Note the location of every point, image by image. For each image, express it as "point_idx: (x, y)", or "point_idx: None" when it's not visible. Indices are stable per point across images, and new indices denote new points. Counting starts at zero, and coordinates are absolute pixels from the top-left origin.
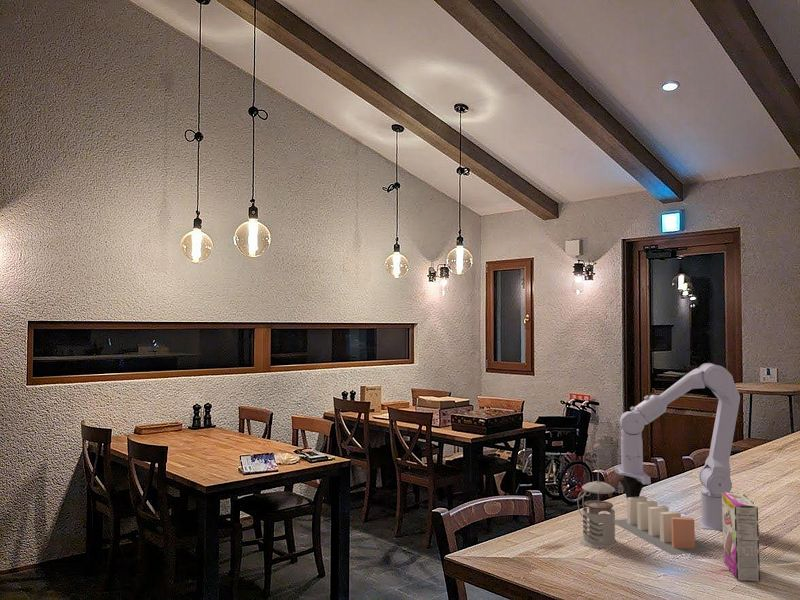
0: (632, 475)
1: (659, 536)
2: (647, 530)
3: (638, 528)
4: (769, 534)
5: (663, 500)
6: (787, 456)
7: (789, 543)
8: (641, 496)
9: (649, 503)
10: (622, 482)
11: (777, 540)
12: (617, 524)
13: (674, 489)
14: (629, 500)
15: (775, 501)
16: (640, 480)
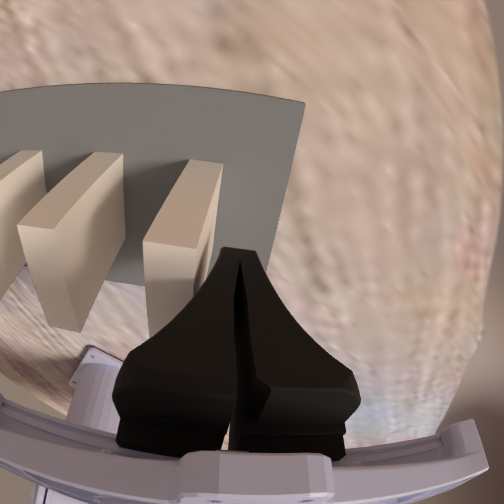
0: (55, 465)
1: None
2: None
3: (113, 153)
4: (65, 401)
5: (370, 407)
6: None
7: (20, 384)
8: None
9: (34, 283)
10: (292, 363)
11: (32, 385)
12: (219, 94)
13: (397, 436)
14: (164, 234)
15: None
16: (48, 428)
